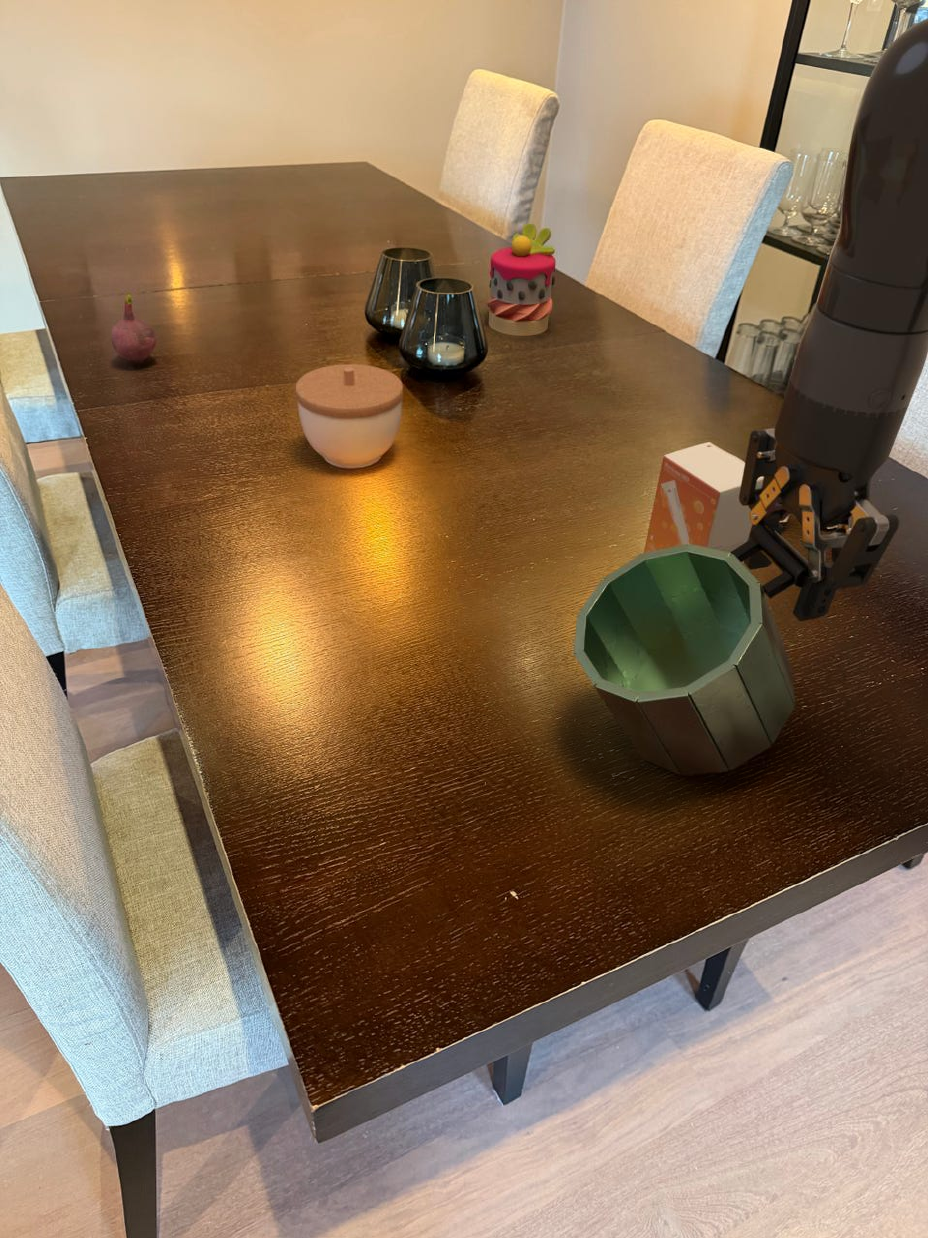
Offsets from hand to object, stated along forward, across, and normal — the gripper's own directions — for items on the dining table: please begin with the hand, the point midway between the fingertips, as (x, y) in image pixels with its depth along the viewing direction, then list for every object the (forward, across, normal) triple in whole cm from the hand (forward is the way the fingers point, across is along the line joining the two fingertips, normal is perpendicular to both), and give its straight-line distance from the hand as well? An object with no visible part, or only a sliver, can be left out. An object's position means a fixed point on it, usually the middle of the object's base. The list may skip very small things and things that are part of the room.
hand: (780, 589), depth 68 cm
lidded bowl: (+14, +54, +22) cm, 60 cm away
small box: (+14, +20, -6) cm, 25 cm away
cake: (+14, +91, -14) cm, 93 cm away
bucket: (+9, 0, +13) cm, 16 cm away
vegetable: (+15, +88, +46) cm, 100 cm away
